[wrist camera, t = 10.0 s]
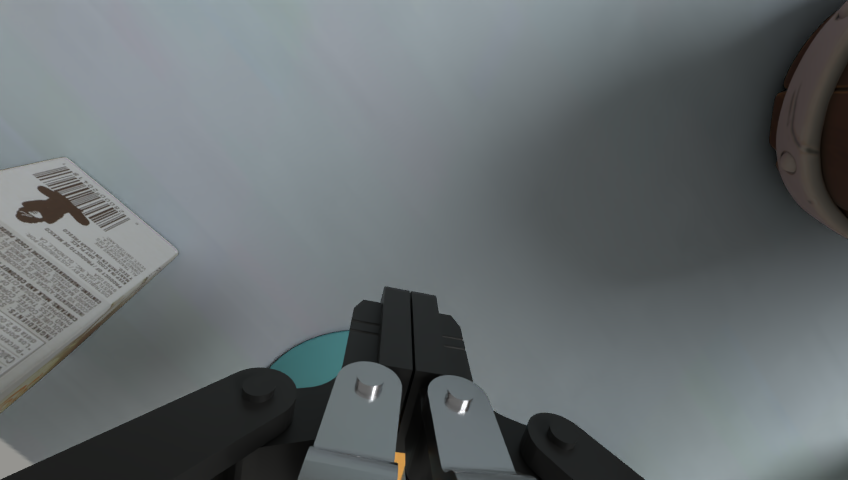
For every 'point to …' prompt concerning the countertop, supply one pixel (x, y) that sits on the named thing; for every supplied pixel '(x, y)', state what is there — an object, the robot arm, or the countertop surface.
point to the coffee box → (63, 266)
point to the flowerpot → (816, 125)
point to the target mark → (314, 360)
